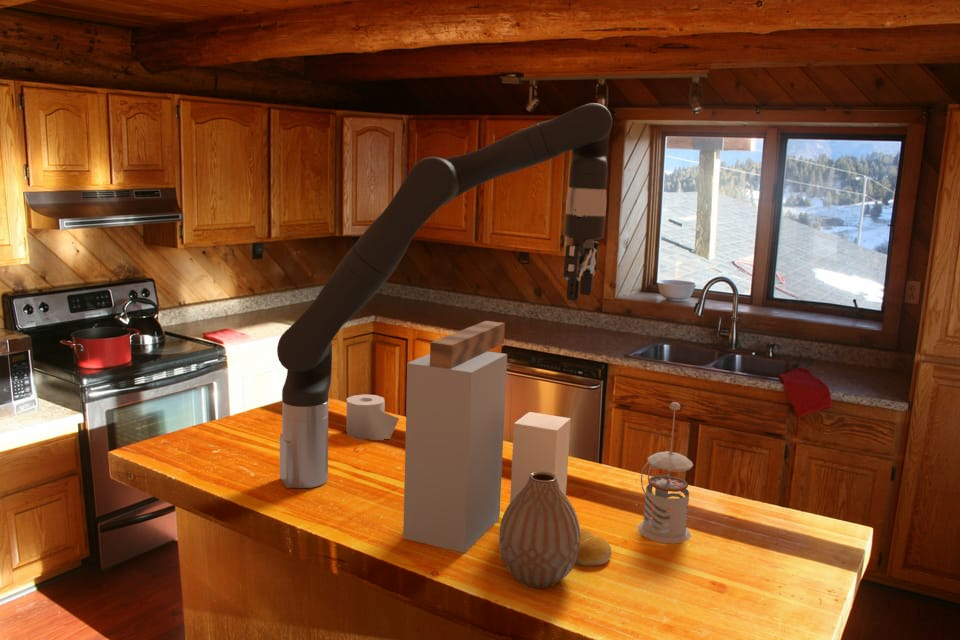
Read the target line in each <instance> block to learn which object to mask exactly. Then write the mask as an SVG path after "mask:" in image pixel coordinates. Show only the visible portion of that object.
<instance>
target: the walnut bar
mask: <svg viewBox="0 0 960 640" xmlns="http://www.w3.org/2000/svg"><path fill="white" fill-rule="evenodd" d="M505 328H506V322H501V321H499V322H498V321H492V320H484V321H482V322H479V323H476V324H474V325H472V326H468V327H467V328H464V329H462V330H459V331H456V332H454V333H451V334H448V335H446V336H444V337H440V338H438V339H436V340H434V341H431V342H430V343H429V344H430V345H429V346H430V349H429V354H430V366H436V367H443V368H450V369H451V368H454V367H456V366H458V365H460V364H462V363H464V362H466V361H468V360H470V359H472V358H474V357H476V356H478V355H481V354H483V353H485V352H487V351H488V352H490V351H491V350H493V349H495V348H497V347H499V346H501V345H503V344H505V332H506V331H505V330H506V329H505Z"/></svg>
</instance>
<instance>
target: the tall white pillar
mask: <svg viewBox="0 0 960 640" xmlns="http://www.w3.org/2000/svg"><path fill="white" fill-rule="evenodd" d="M507 364H508V354H507V353H501V352H494V351H487V352H485V353H483V354H481V355H478V356H476V357H474V358H472V359H470V360H468V361H466V362H464V363H462V364H460V365H458V366H456V367H454V368H451V369H450V368H443V367H436V366H430V353H429V354H426V355H423V356H421V357H418V358H416V359H413V360H411V361H410V362H407V366H406V369H407V370H406V372H407V373H406V402H405V404H406V407H405V408H406V410H405V413H406V414H405V418H406V419H405V443H404V444H405V445H404V447H405V448H404V451H405V455H404V461H405V462H404V483H403V484H404V485H403V486H404V487H403V488H404V489H403V490H404V491H403V493H404V494H403V530H402V531H403V533H402V539H404V540H408V541H413V542H418V543H421V544H425V545H429V546H432V547H433V546H434V547H438V548H441V549H445V550H450V551H455V552H458V553H463V554H465V553H467V552H468V551H469V550H470V548H471V547H473V545H474V544H475V543H476V542H477V541H478V540H480V538H482V537H483V535H485V533H486V532H487V531H488V530H489V529H490V528H492V527H493V526H494V524H496V523H497V522H498V521H499V520H500V519H501V518H500V515H501V514H500V512H501V495H502V494H501V493H502V477H503V476H502V475H503V474H502V472H503V471H502V470H503V455H504V453H503V451H504V430H505V410H506V409H505V407H506V387H507V367H508V365H507Z"/></svg>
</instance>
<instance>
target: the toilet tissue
mask: <svg viewBox="0 0 960 640" xmlns="http://www.w3.org/2000/svg"><path fill="white" fill-rule="evenodd" d="M385 402H386V401H385V398H384V397H383V396H379V395H377V394H364V393H363V394H359V395H358V394H356V395H352V396H349V397H347V398H346V425H345V426H346V429H345V430H346V432H347V433H346V436H347V435H348V436H347V437H349V436H351V437H353V438H352V439H354V438H356V439H355V440H364V439H369V440H368V441H378V440H379V441H385V440H384V439H391V437H392V435H393V433H394V431H395V428H396V427H397V424H398V422H399V420H400V418H398V417H396V416H394V415H391V414H389V413H386V409H385V408H386V407H385V406H386V405H385V404H386V403H385ZM351 437H350V438H351Z"/></svg>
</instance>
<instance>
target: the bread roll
mask: <svg viewBox="0 0 960 640" xmlns="http://www.w3.org/2000/svg"><path fill="white" fill-rule="evenodd" d="M580 532H581V543H580V551H579V555H578V558H577V561H576V563H575V564H578V565H582V566H587V567H588V566H601V565H605V564H606V563H607V562H609V560H610V559H611V557H612V556H611V555H612V546H611V545H610V543H609V542H608V540H607V539H605V538H604V537H600V536H597V535H595V534H594V533H593V532H591V531H589V530H587V529H583V528H580Z"/></svg>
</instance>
